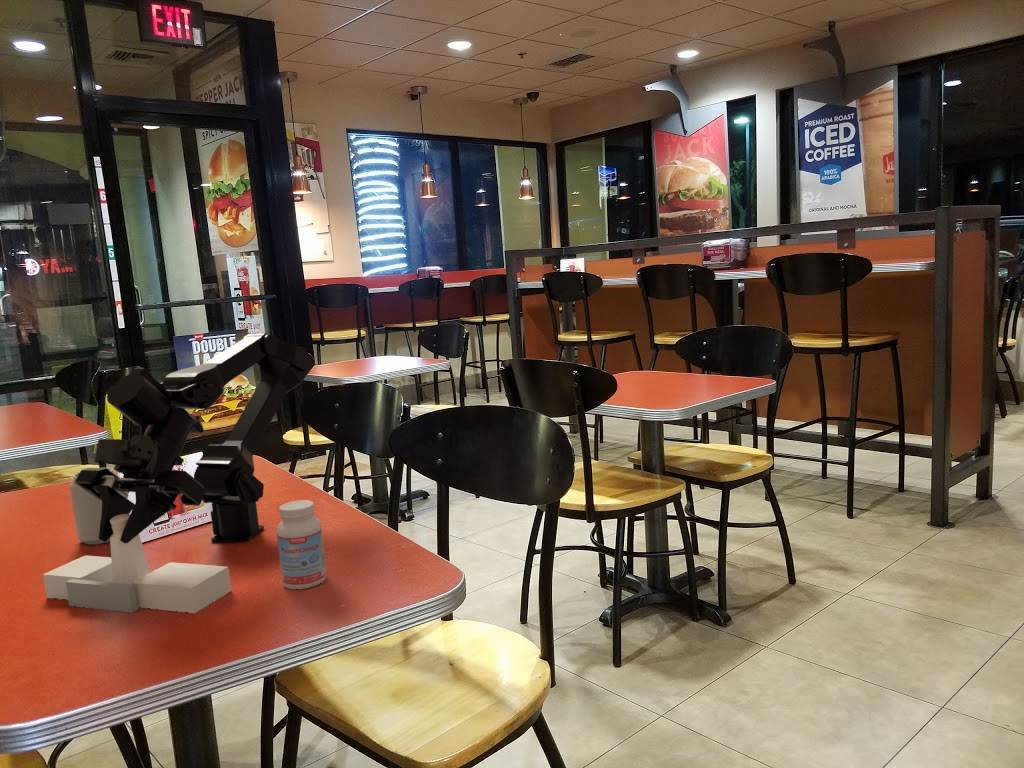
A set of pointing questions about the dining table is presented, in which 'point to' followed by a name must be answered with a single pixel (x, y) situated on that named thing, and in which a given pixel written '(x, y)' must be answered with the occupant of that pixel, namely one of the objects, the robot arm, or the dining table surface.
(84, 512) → the can
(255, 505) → the robot arm
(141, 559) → the pepper shaker
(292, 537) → the pill bottle
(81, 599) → the grey block set
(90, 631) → the dining table surface
